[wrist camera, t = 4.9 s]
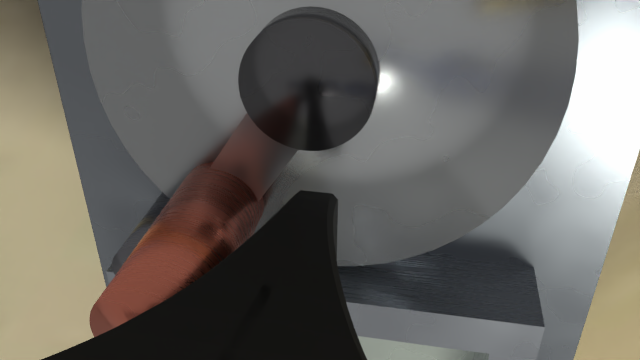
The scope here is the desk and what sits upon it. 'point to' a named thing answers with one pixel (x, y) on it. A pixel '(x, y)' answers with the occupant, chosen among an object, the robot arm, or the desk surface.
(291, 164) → the crank
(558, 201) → the crank bench
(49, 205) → the desk surface
